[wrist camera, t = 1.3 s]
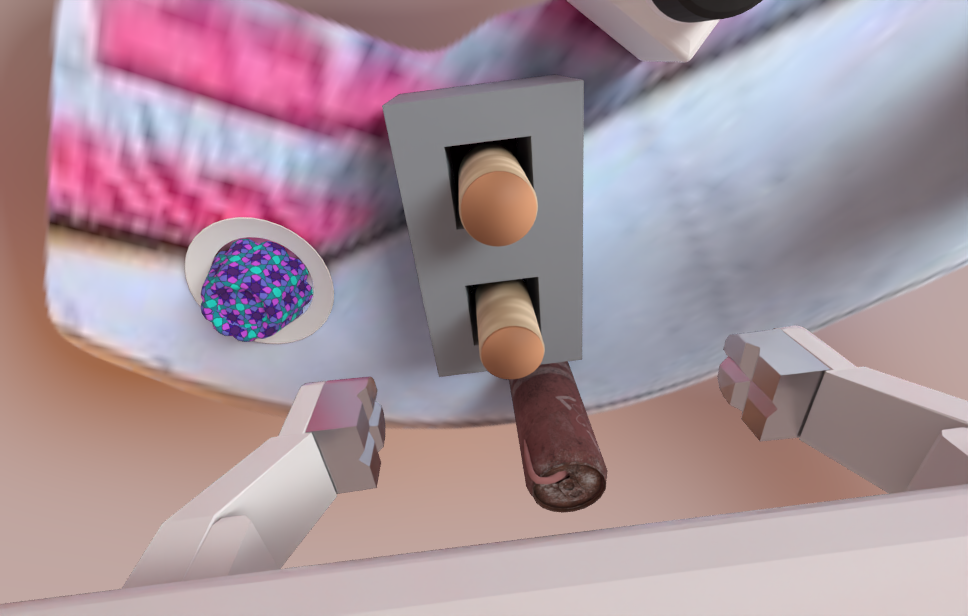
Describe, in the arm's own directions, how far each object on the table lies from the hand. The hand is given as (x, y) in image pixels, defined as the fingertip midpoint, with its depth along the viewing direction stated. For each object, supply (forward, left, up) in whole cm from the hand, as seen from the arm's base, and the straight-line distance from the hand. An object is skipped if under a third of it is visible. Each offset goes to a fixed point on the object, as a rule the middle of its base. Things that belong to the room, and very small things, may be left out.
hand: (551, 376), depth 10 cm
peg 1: (0, 0, -21) cm, 21 cm away
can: (-3, +21, -27) cm, 34 cm away
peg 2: (0, +9, -21) cm, 23 cm away
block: (0, +5, -26) cm, 27 cm away
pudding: (+20, +8, -27) cm, 35 cm away
